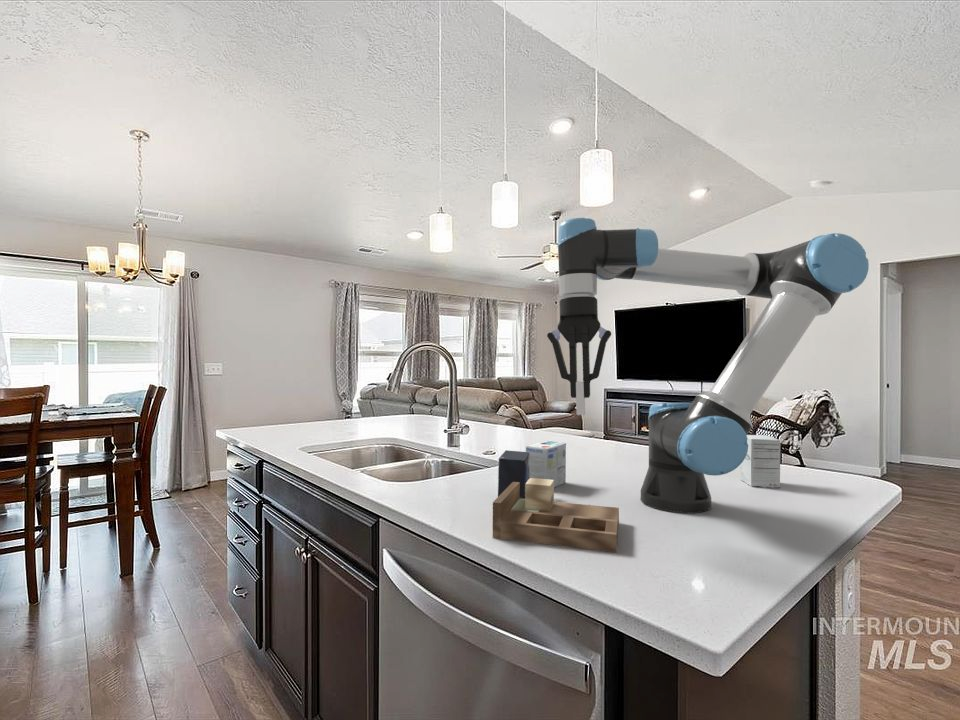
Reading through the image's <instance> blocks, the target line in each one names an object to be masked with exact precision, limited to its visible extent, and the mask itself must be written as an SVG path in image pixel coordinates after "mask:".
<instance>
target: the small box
mask: <svg viewBox="0 0 960 720" xmlns="http://www.w3.org/2000/svg"><path fill="white" fill-rule="evenodd" d="M529 466H530V456H529V452H526V451H518V450H505V451H503V453H502V454H501V455H500V456H499V458H498V470H497V471H498V473H497V476H498V477H497V480H498V483H497V498H498V497H499V495H500V494H501V493H502V492H503V491H504V490H505V489H506V488H507V487H508V486H509V485H510V484H511V483H512V482H520V499H525V484H526V482H527V481H528V480H529Z"/></svg>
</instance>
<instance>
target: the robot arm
mask: <svg viewBox="0 0 960 720" xmlns="http://www.w3.org/2000/svg"><path fill="white" fill-rule="evenodd" d="M596 224H597V223H596V221H595V220H594V219H592V218H585V217H575V218H574V217H573V218H569V219H566V220H564V221H562V222H561V223H560V225H558V240H557V242H558V243H557V251H558V252H557V255H558V292H559V296H560V297H561V298H560V300H559V322H558V323H557V328H556V329H554V330H553V331H551V332H548V333H547V334H546V336H547V338H548V340H549V341H550V342H551V344H552V348H553V351H554V355H555V359H556V363H557V367H558V370H559V374H560V375H559V376H560V378H561V379H563V380H567V381H568V382H569V384H570V386H569V387H570V398H573V399H574V398H575V401H576V402H575V405H576V409H575V410H576V415H577V416H584V415H585V414H586V400H585V399H587V398H589V399H590V396H591V381H594V380H596V379H597V378H599V376H600V372H601V367H602V364H603V359H604V354H605V351H606V350H605V349H606V346H607V345H606V344H607V342H608V341H609V340H610V338H611V336H612V332H611V330H607V329H605V328H604V327H602V326H601V322H600V321H599V317H598V316H599V313H598V298H596V297H595V296H596V295H598V280H602V281H610V280H614V279H617V280H618V279H621V280H632V281H642V282H650V283H651V282H653V283H663V284H671V285H672V284H673V285H682V286H691V287H692V286H695V287H701V288H703V287H704V288H711V289H712V288H713V289H721V290H723V289H724V290H730V291H731V290H732V291H736V292H737V293H738V295H741V296H745V297H755V298H764V299H768V300H769V302H768V303H767V304H766V306H765V308H764V309H763V310H762V311H761V313H760V315H759V316H758V318H757V319H756V321H755V322H754V324H753V325H752V327H751V328H750V330H749V331H748V333H747V335H746V336H744V339H743V340H742V342H741V343H740V345H739V346H738V348H737V350H735V353H733V355H732V356H731V359H729V361H728V362H727V364H726V365H725V367H724V369H723V370H722V372H721V373H720V375H719V376H718V378H717V379H716V381H715V382H714V384H713V385H712V387H711V388H710V390H709V391H708V392H704V393H700V394H697V395H696V396H695V397H694V399H693V400H692V401H691V402H657V403H653V404H651V406H650V407H649V411H648V413H649V414H648V416H647V417H648V418H647V420H648V469H647V471H646V473H645V476H644V477H645V478H644V480H643V483H642V486H641V489H640V501H641V503H643V504H644V505H645V506H648V507H650V508H653V509H658V510H661V511H667V512H674V513H691V514H692V513H693V514H695V513H702V512H707V511H709V510H711V509H712V495H711V493H710V492H711V491H710V489H709V486H708V483H707V480H706V477H705V475H707V476H722V475H726V474H727V475H728V473H731V472H733V471H735V470H736V469H737V468H739V467H740V466H741V463H742V462H743V461H744V459H745V457H746V455H747V452H748V444H747V440H748V438H747V435H749V432H750V431H751V429H752V427H753V423H752V420H751V414H752V413H753V411H754V409H755V408H756V406H757V404H758V403H759V402H760V400H761V399H762V397H763V396H764V394H765V393H766V391H767V390H768V388H769V387H770V385H771V384H772V382H773V380H775V378H776V376H777V375H778V373H779V372H780V370H781V369H782V367H783V366H784V365H785V363H786V362H787V360H788V359H789V357H790V356H791V354H792V352H793V351H794V349H796V347H797V345H798V344H799V342H800V340H801V339H802V337H803V336H804V335H805V333H806V332H807V330H808V329H809V327H810V326H811V324H812V323H813V321H814V319H816V317H818V316H822V315H826V314H828V313H829V312H830V311H831V310H832V308H833V307H834V305H836V302H837V301H838V299H839V298H840V297H841V295H842V294H845V293H850V292H852V291H854V290H855V289H857V288H858V287H859V286H861V285H862V284H863V283H864V282H865V280H866V278H867V276H868V273H869V265H870V264H869V259H868V258H867V255H866V254H867V252H866V250H865V249H864V247H863V245H862V244H861V243H860V242H859V241H858V240H856V239H855V238H854V237H853V236H851V235H850V236H849V235H848V234H844V233H841V232H839V233H837V232H836V233H835V232H834V233H827V234H821V235H818V236H815V237H813V238H812V239H810V240H807V241H804V242H801V243H799V244H798V243H797V244H795V245H792V246H790V247H787V248H784V249H781V250H777V251H772V252H765V253H758V252H757V253H756V252H747V253H746V254H745V255H743V256H740V255H729V254H720V253H719V254H717V253H710V252H700V251H699V252H698V251H687V250H676V249H667V248H659V238H658V235H657V234H656V232H655V230H653V229H651V228H650V229H648V228H647V229H645V228H639V227H638V228H631V229H630V228H629V229H628V228H627V229H625V228H624V229H597V228H598V227H597V226H596ZM559 296H558V297H559ZM560 334H561V335H562V336H563V338H564V339H565V341H566V342H568V349H569V350H568V351H569V355H568V356H569V373H568V369H567V366H566V362H565V358H564V355H563V354H564V353H563V351H562V348H561V347H562V346H561V343H560V341H559V340H560V339H561V336H560ZM597 334H598V338H599V339H600V340H599V344H598V347H597V352H596V353H597V354H596V357H595V361H594V366H593V370H592V371H593V372H592V373H591V369H590V368H591V364H590V363H591V362H590V342H592V340H593V339H594V337H595V336H596V335H597ZM579 343H581V347H582V349H581V350H582V351H581V352H582V353H581V355H582V380H583V381H578V363H577V362H578V361H577V359H578V357H577V352H578V351H577V344H579Z"/></svg>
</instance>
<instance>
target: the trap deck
mask: <svg viewBox="0 0 960 720" xmlns="http://www.w3.org/2000/svg"><path fill="white" fill-rule="evenodd" d="M619 523H620V508H619V507H614V506H604V505H602V506H601V505H591V504H582V503H573V502H572V503H570V502H560V501H559V502H558V501H554V505H553V506H552V508H551V510H550V511H543V510H533V509H525V499H520V482H512V483H511V484H510V485H509V486H508V487H507V488H506V489H505V490H504V491H503V492H502V493H501V494H500V495H499V497H498V496H497V497H496V498H495V499H494V501H492V538H493V539H502V540H509V541H510V540H511V541H519V542H527V543H535V544H545V545H550V546H551V545H553V546H561V547H567V548H570V547H571V548H578V549H587V550H593V551H594V550H596V551H603V552H610V553H611V552H612V553H617V548H618V538H619Z"/></svg>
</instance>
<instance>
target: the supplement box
mask: <svg viewBox="0 0 960 720" xmlns="http://www.w3.org/2000/svg"><path fill="white" fill-rule="evenodd" d="M747 438H748V440H747V444H748V452H747V455H746V457H745V459H744V461H743V462H742V463H741V464H740V478H739V479H740V480H741V481H742V482H744V483H745V484H747V485H748V484H749V485H748V486H750V487H751V486H765V487H764V488H766V487H780V488H781V439H778V438H775V437H772V436H769V435H765V434H763V435H762V434H747Z"/></svg>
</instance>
